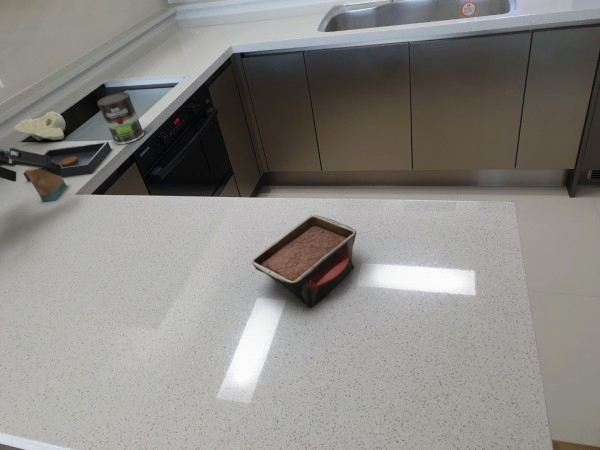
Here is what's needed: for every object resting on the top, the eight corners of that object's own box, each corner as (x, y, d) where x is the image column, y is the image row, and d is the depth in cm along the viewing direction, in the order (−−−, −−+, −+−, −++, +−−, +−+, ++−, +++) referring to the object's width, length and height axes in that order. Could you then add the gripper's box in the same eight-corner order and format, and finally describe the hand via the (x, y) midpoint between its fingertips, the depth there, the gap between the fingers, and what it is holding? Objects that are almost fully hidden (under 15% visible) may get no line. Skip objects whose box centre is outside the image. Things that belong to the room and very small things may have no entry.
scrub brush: (42, 201, 129) (24, 171, 124) (54, 188, 135) (37, 158, 129) (55, 200, 129) (38, 169, 123) (67, 187, 135) (50, 156, 129)
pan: (27, 181, 142) (22, 173, 141) (52, 157, 155) (48, 149, 153) (91, 173, 139) (87, 164, 137) (111, 149, 152) (108, 141, 150)
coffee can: (144, 139, 154) (128, 98, 146) (113, 147, 153) (95, 107, 145) (144, 128, 163) (129, 89, 154) (115, 136, 161) (98, 97, 153)
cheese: (80, 135, 173) (54, 108, 175) (72, 127, 166) (45, 99, 168) (47, 162, 170) (21, 134, 172) (38, 155, 163) (10, 126, 164)
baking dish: (257, 287, 89) (240, 254, 82) (322, 231, 95) (312, 196, 88) (307, 329, 79) (293, 295, 73) (375, 264, 86) (368, 227, 79)
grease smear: (59, 167, 145) (57, 165, 144) (66, 160, 149) (65, 157, 148) (73, 165, 144) (72, 163, 144) (80, 158, 148) (79, 155, 148)
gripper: (-78, 172, 106) (-4, 192, 127) (18, 159, 102) (78, 181, 123) (-77, 141, 107) (-3, 166, 128) (19, 127, 103) (78, 154, 124)
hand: (37, 173), depth 125 cm, fingers open, 13 cm apart
